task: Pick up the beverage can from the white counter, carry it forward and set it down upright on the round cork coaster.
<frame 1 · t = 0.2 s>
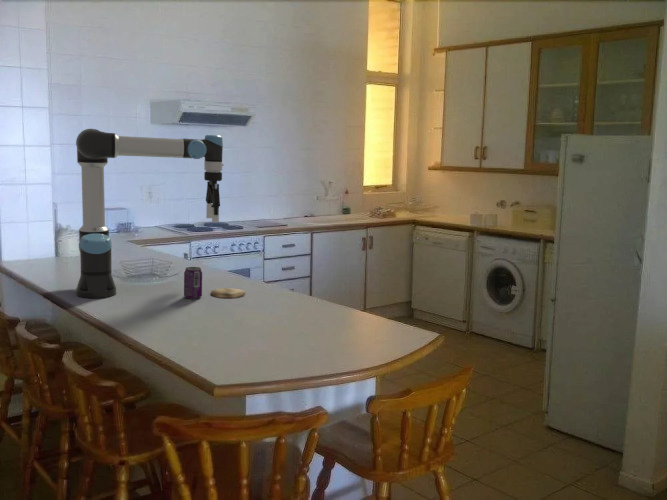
hand: (212, 220, 302), 28 cm above the countertop, fingers open, 13 cm apart
coaster: (227, 294, 287), on the countertop
beverage can: (192, 298, 278), on the countertop
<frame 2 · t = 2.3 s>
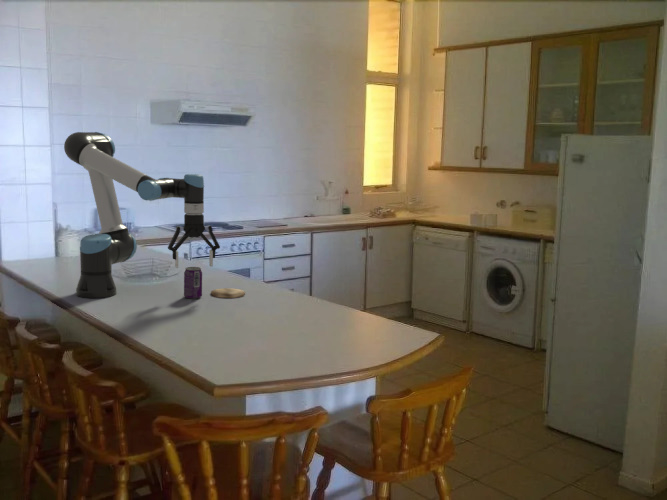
hand: (194, 266, 276), 13 cm above the countertop, fingers open, 13 cm apart
nothing on the countertop moved.
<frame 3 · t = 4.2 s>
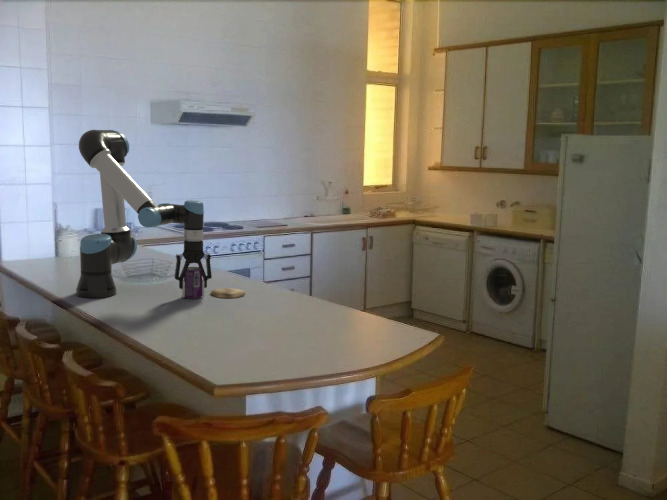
hand: (192, 296, 278), 1 cm above the countertop, fingers closed on beverage can, 7 cm apart
beverage can: (192, 298, 278), on the countertop, touching gripper
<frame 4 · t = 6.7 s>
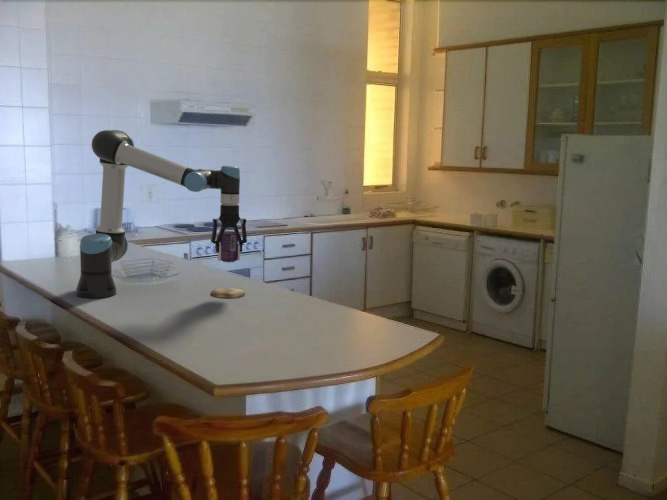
hand: (228, 259, 284), 14 cm above the countertop, fingers closed on beverage can, 7 cm apart
beverage can: (228, 261, 284), point 14 cm above the countertop, touching gripper
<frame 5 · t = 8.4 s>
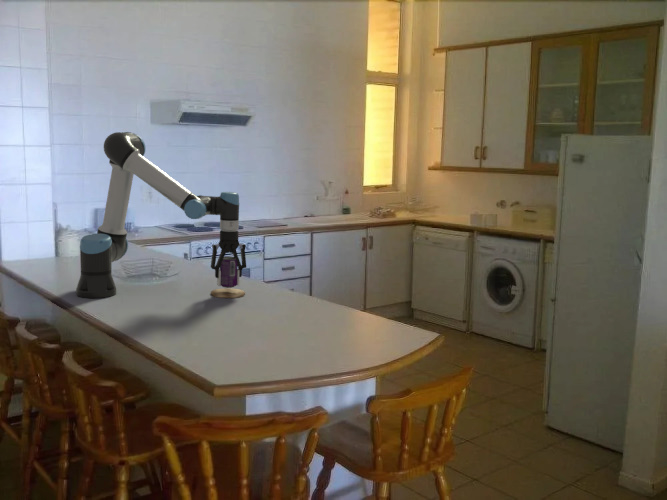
hand: (228, 285, 286), 4 cm above the countertop, fingers closed on beverage can, 7 cm apart
beverage can: (228, 286, 286), point 3 cm above the countertop, touching gripper
when the fingers open (3 cm above the countertop, at t = 9.5 s): beverage can drops 1 cm, resting on coaster.
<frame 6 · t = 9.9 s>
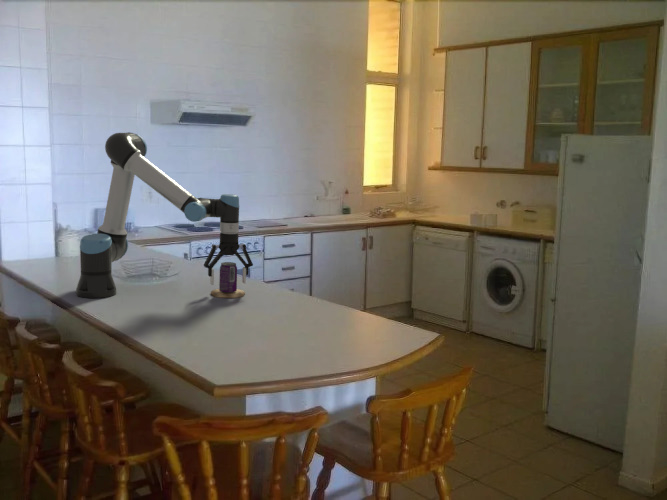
hand: (228, 283, 286), 4 cm above the countertop, fingers open, 13 cm apart
beverage can: (227, 292, 286), point 1 cm above the countertop, touching coaster
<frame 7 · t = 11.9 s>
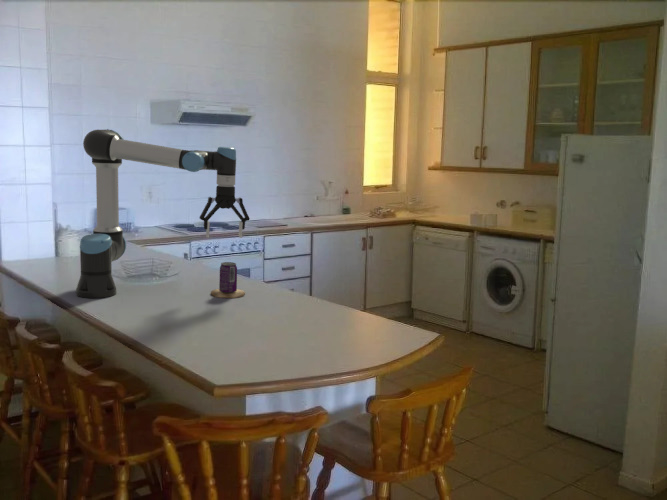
hand: (224, 237, 285), 23 cm above the countertop, fingers open, 13 cm apart
nothing on the countertop moved.
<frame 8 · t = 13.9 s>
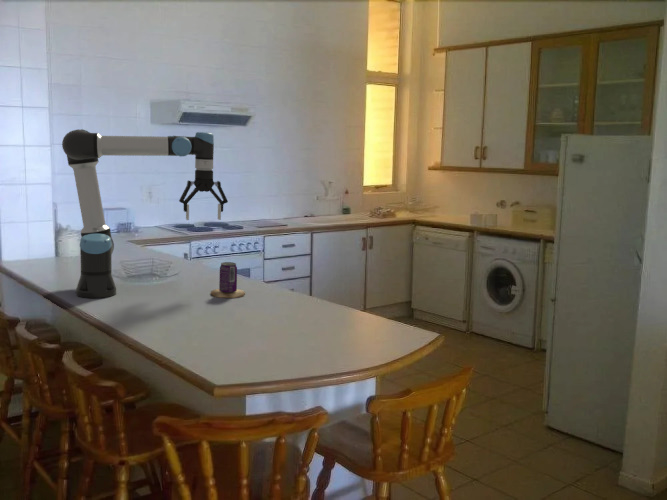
hand: (203, 219, 296), 29 cm above the countertop, fingers open, 13 cm apart
nothing on the countertop moved.
at the end: beverage can 0.0 cm from the coaster (horizontally); beverage can tilted 0°; the gripper is holding nothing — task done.
